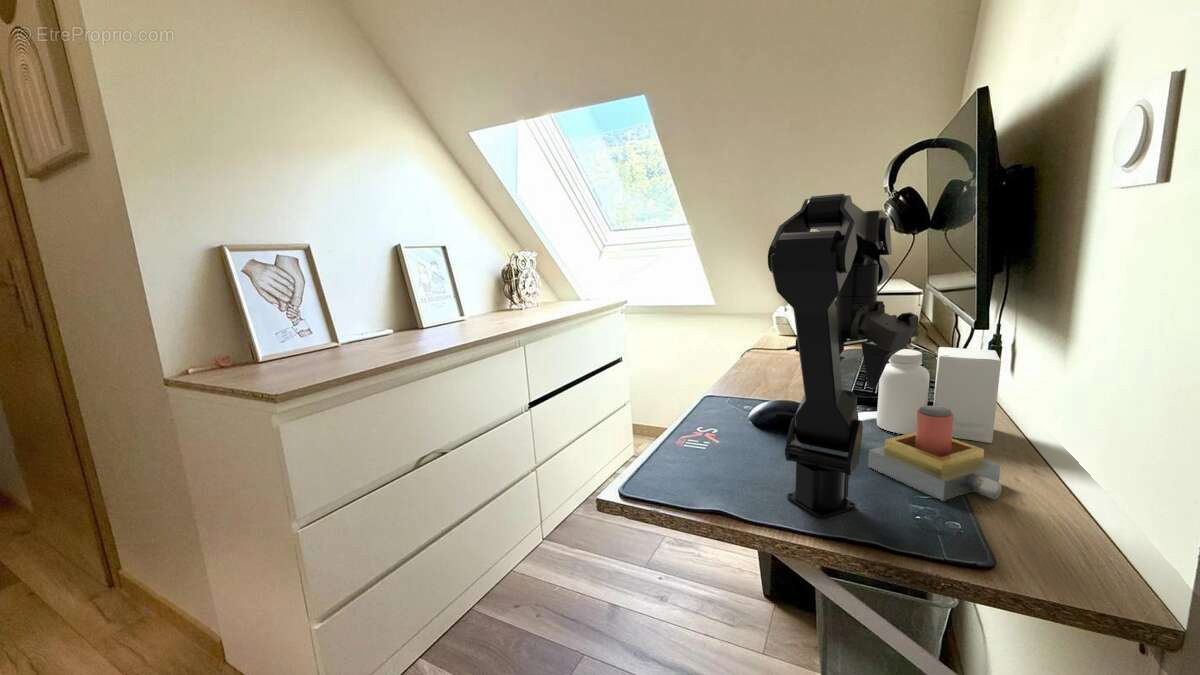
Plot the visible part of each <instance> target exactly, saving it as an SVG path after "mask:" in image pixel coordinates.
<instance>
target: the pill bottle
mask: <svg viewBox="0 0 1200 675" xmlns="http://www.w3.org/2000/svg"><path fill="white" fill-rule="evenodd" d="M922 365H923V353H922V352H921V351H919V350H915V349H908V348H907V349H906V348H904V349H903V350H900V351H898V352H896V353H895V354H893V355H892V356H891V357H890V359H889V361H888V363H887V364H886V366H885V368H884V371H883V373H882V375H881V377H880V380H879V382H878V396H877V398H878V399H877V408H876V410H877V411H876V412H877V413H876V424H877V427H878V426H879V427H880V428H882V429H884V430H887V431H891V432H896V433H902V434H909V433H913V432H916V426H917V410H918V409H919V408H920V407H922V406H928V399H929V387H930V386H929V385H930V378H931V377H930V372H929V370H928V369H927V368H926V367H924V366H922ZM879 427H878V428H879ZM880 428H879V429H880ZM882 429H881V430H882ZM884 430H883V431H884ZM887 431H886V432H887Z"/></svg>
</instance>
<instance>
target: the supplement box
mask: <svg viewBox="0 0 1200 675" xmlns="http://www.w3.org/2000/svg"><path fill="white" fill-rule="evenodd" d="M1001 365H1002V361H1001V359H1000V357H999V354H998V353H997V351H996V350H993V349H992V350H991V349H982V348H981V349H979V348H977V349H976V348H963V347H946V346H945V347H944V346H939V347H938V351H937V362H936V373H935V382H934V384H935V385H934V393H933V394H934V395H933V406H939V407H944V408H947V409H949V410H951V412H952V413H953V429H952V439H961V440H969V441H976V442H982V443H989V444H992V443H993V439H994V429H995V419H996V410H997V402H998V394H999V393H998V392H999V386H1000V385H999V384H1000V376H1001V375H1000V374H1001V367H1002V366H1001Z"/></svg>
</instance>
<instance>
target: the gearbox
mask: <svg viewBox="0 0 1200 675" xmlns="http://www.w3.org/2000/svg"><path fill="white" fill-rule="evenodd" d="M915 446H916V432H913V433H909V434H905V435H897V436H893V437H890V438H885V439H884V445H881V446H879V447H875V448H871V449H869V450H868V460H867V462H868V464H867V468H868V467H870V468H872V469H874V470H873V471H875V470H876V471H875V472H877V471H878V472H877V473H879V472H880V473H879V474H881V473H883V474H885V475H884V476H886V475H887V476H886V477H888V476H889V477H888V478H890V477H891V478H890V479H892V478H893V479H892V480H894V479H895V480H894V481H897V482H899V481H900V482H899V483H901V482H902V483H901V484H903V483H904V484H903V485H905V484H906V486H908V487H910V488H912V487H913V489H914V490H916V489H917V491H919V492H921V493H923V494H925V495H928V496H929V495H930V497H932V498H934V499H936V498H937V499H936V500H938V499H940V500H941V502H943V501H944V502H946V501H945V500H947V499H950V498H953V497H955V496H958V495H961V494H964V495H967V494H970V493H973V492H975V493H978V494H979V495H982V496H983V497H986V498H989V499H992V500H997V498H999V497H1000V495H1001V493H1002V484H1001V482H1000V473H1001V465H1002V464H1001V463H999V462H997V461H994V460H991V459H988V458H984V456H985V454H984V453H985V448H982V447H979V446H976V445H972V444H970V443H967V442H964V441H961V440H958V439H956V438H952V445H951V454H950V455H947V456H944V457H938V456H935V455H932V454H930V453H927V452H925V451H922V450H919V449H917V448H915ZM870 468H869V469H870ZM872 469H871V470H872ZM883 474H882V475H883ZM953 499H954V498H953ZM940 500H939V501H940ZM950 500H951V499H950ZM947 501H948V500H947Z"/></svg>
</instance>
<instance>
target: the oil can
mask: <svg viewBox="0 0 1200 675" xmlns="http://www.w3.org/2000/svg"><path fill="white" fill-rule="evenodd" d="M952 429H953V413H952V412H951V410H949V409H947V408H944V407H939V406H934V405H927V406H922V407H920V408H919V409H918V410H917V426H916V446H915V448H917V449H919V450H922V451H925V452H927V453H930V454H932V455H935V456H938V457H944V456H947V455H950V454H951V445H952V439H953V437H952Z"/></svg>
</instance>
